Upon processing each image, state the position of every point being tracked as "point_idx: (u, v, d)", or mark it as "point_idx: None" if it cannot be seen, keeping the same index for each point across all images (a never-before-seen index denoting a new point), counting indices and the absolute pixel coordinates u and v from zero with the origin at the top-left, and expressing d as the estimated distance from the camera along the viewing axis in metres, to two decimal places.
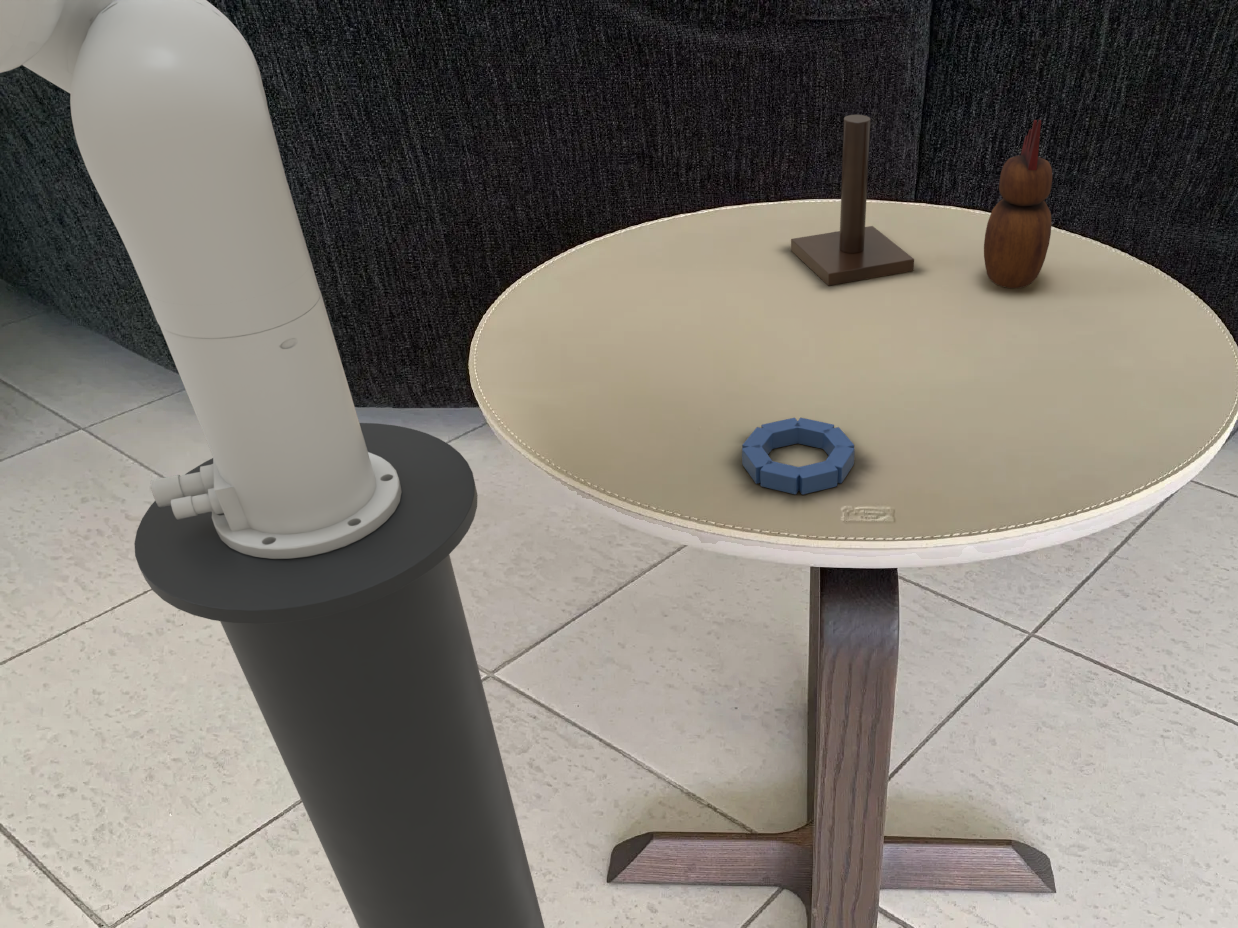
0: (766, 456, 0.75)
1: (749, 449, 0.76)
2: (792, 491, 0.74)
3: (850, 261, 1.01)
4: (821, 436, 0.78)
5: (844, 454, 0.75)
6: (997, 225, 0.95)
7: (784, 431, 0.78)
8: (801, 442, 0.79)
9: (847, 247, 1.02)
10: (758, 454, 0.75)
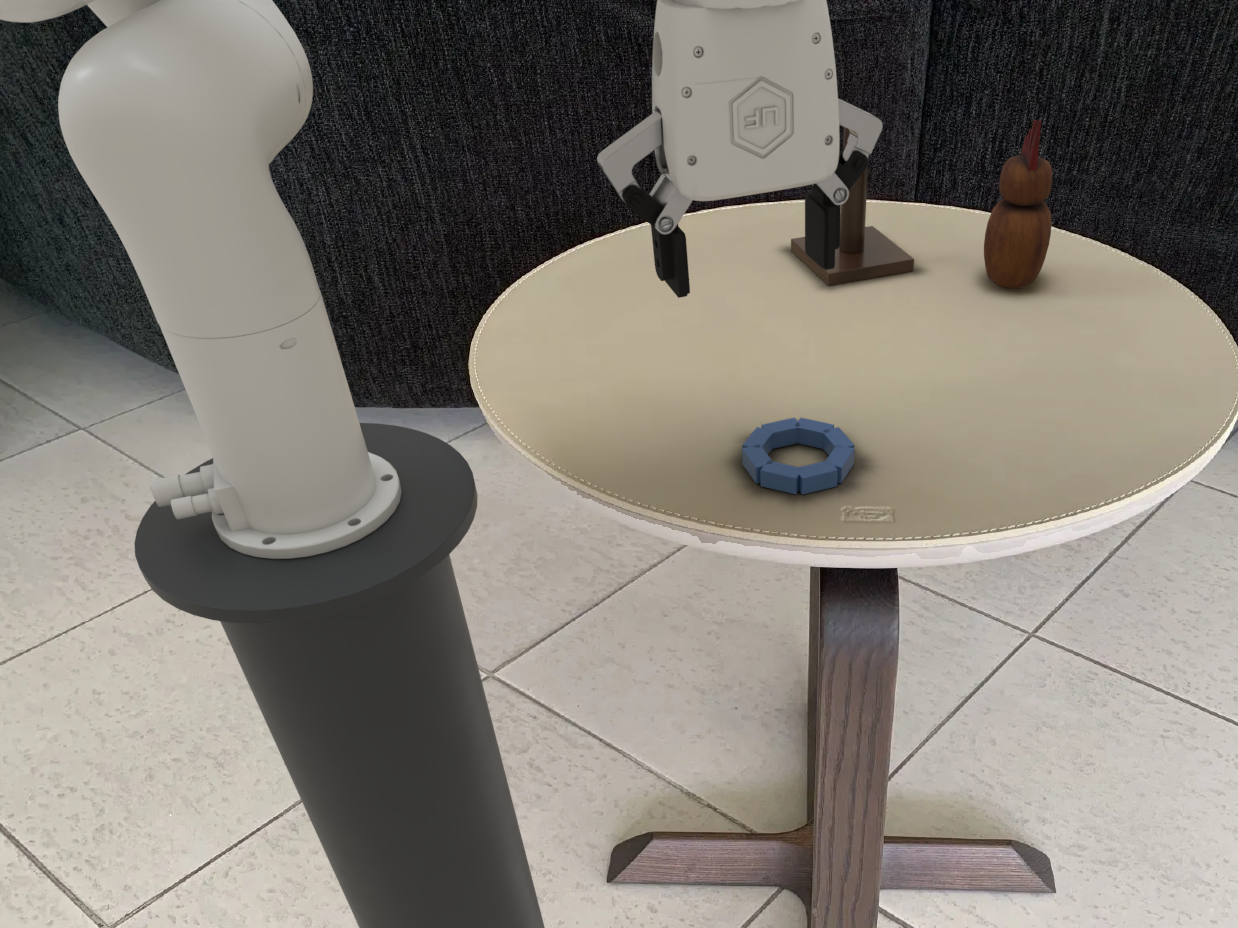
0: (766, 456, 0.75)
1: (749, 449, 0.76)
2: (792, 491, 0.74)
3: (850, 261, 1.01)
4: (821, 436, 0.78)
5: (844, 454, 0.75)
6: (997, 225, 0.96)
7: (784, 431, 0.78)
8: (801, 442, 0.79)
9: (847, 247, 1.02)
10: (758, 454, 0.75)
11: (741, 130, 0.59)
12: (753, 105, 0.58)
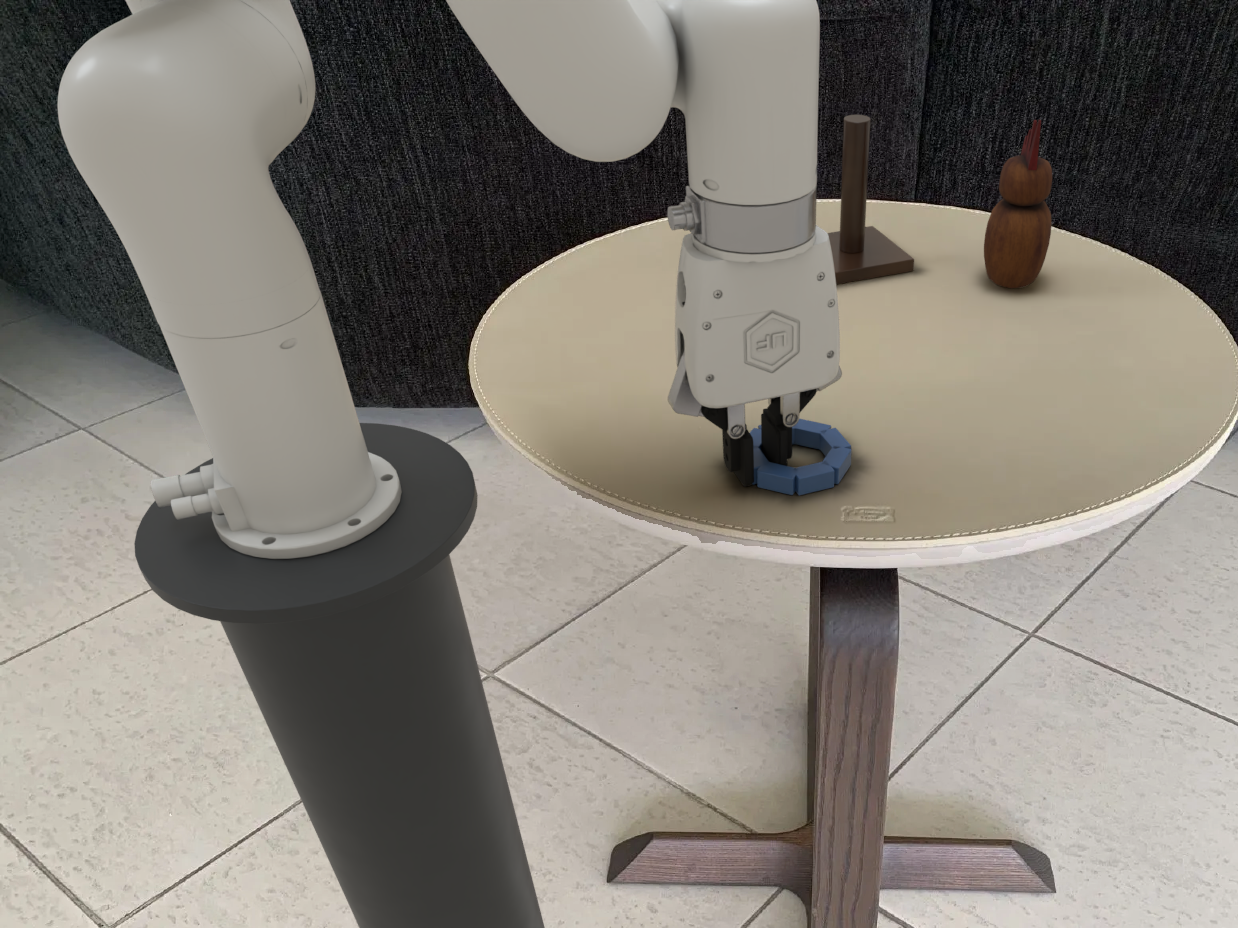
0: (763, 457, 0.75)
1: None
2: (789, 492, 0.74)
3: (850, 261, 1.01)
4: (818, 437, 0.78)
5: (841, 455, 0.75)
6: (997, 226, 0.96)
7: None
8: (798, 443, 0.79)
9: (847, 247, 1.02)
10: (755, 454, 0.75)
11: (753, 352, 0.67)
12: (764, 332, 0.66)
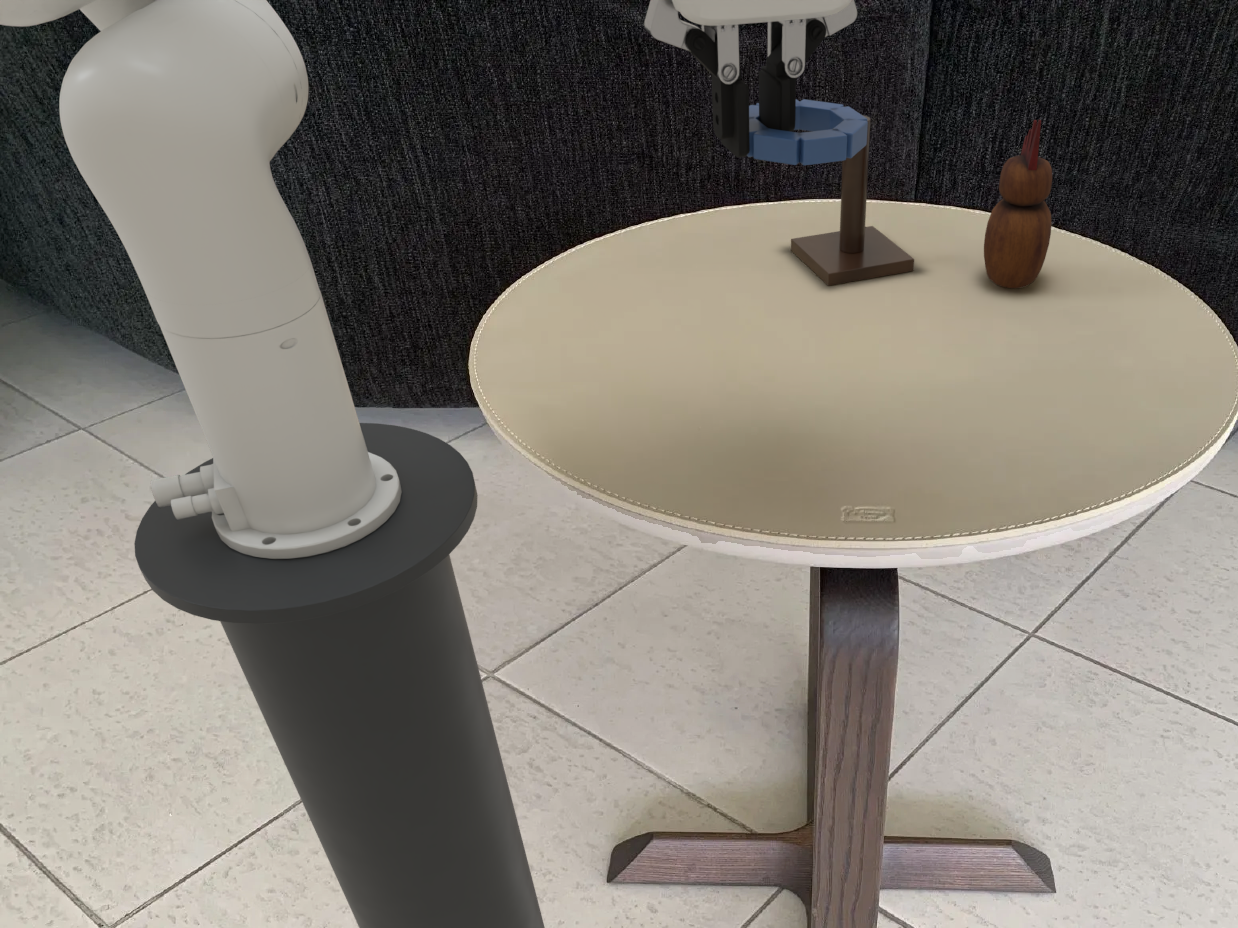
0: (761, 124, 0.62)
1: None
2: (792, 161, 0.61)
3: (850, 261, 1.01)
4: (828, 115, 0.65)
5: (855, 125, 0.62)
6: (997, 226, 0.96)
7: None
8: (804, 127, 0.66)
9: (847, 247, 1.02)
10: (752, 123, 0.62)
11: None
12: None
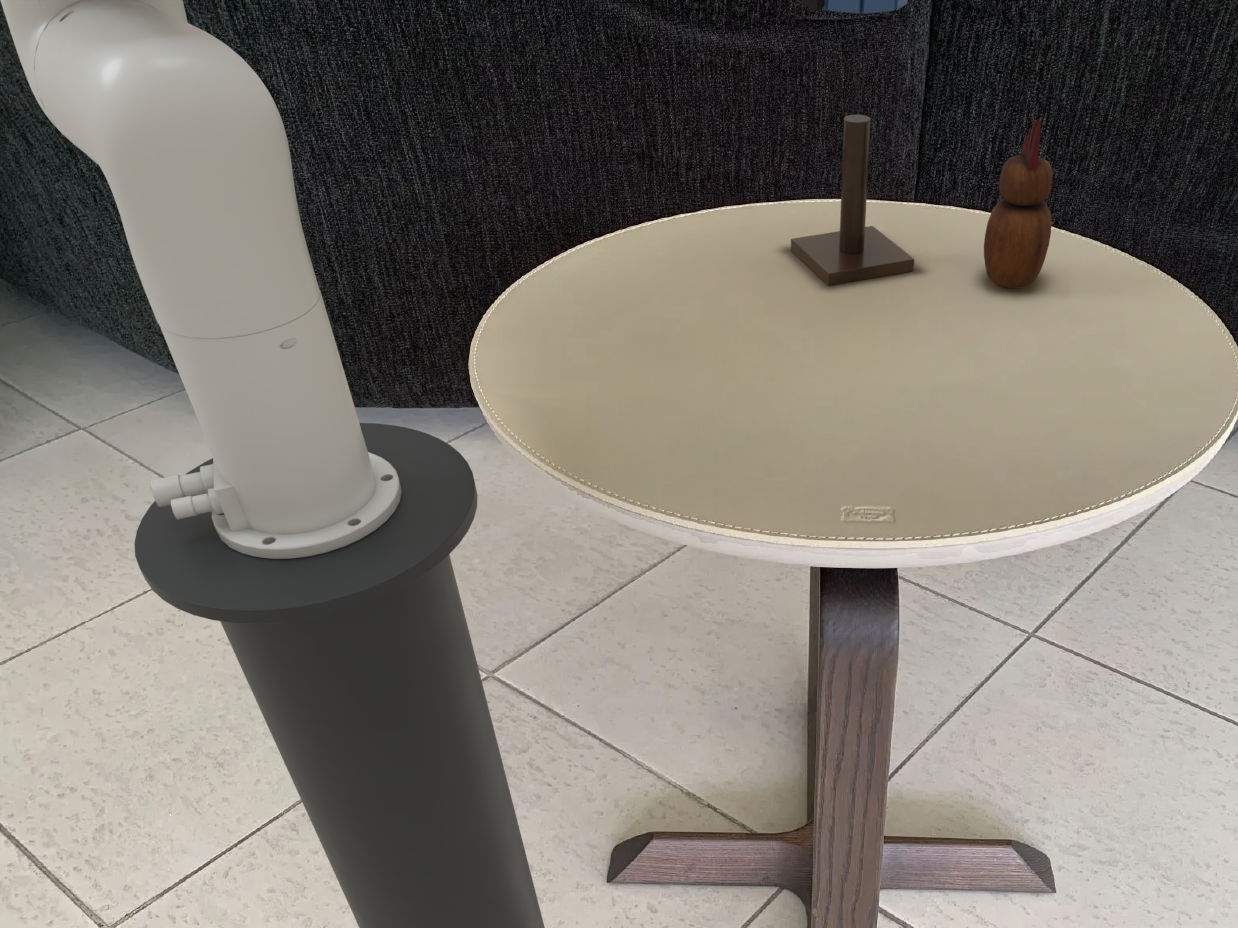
0: None
1: None
2: (856, 10, 0.85)
3: (850, 261, 1.01)
4: None
5: None
6: (997, 226, 0.96)
7: None
8: None
9: (847, 247, 1.02)
10: None
11: None
12: None
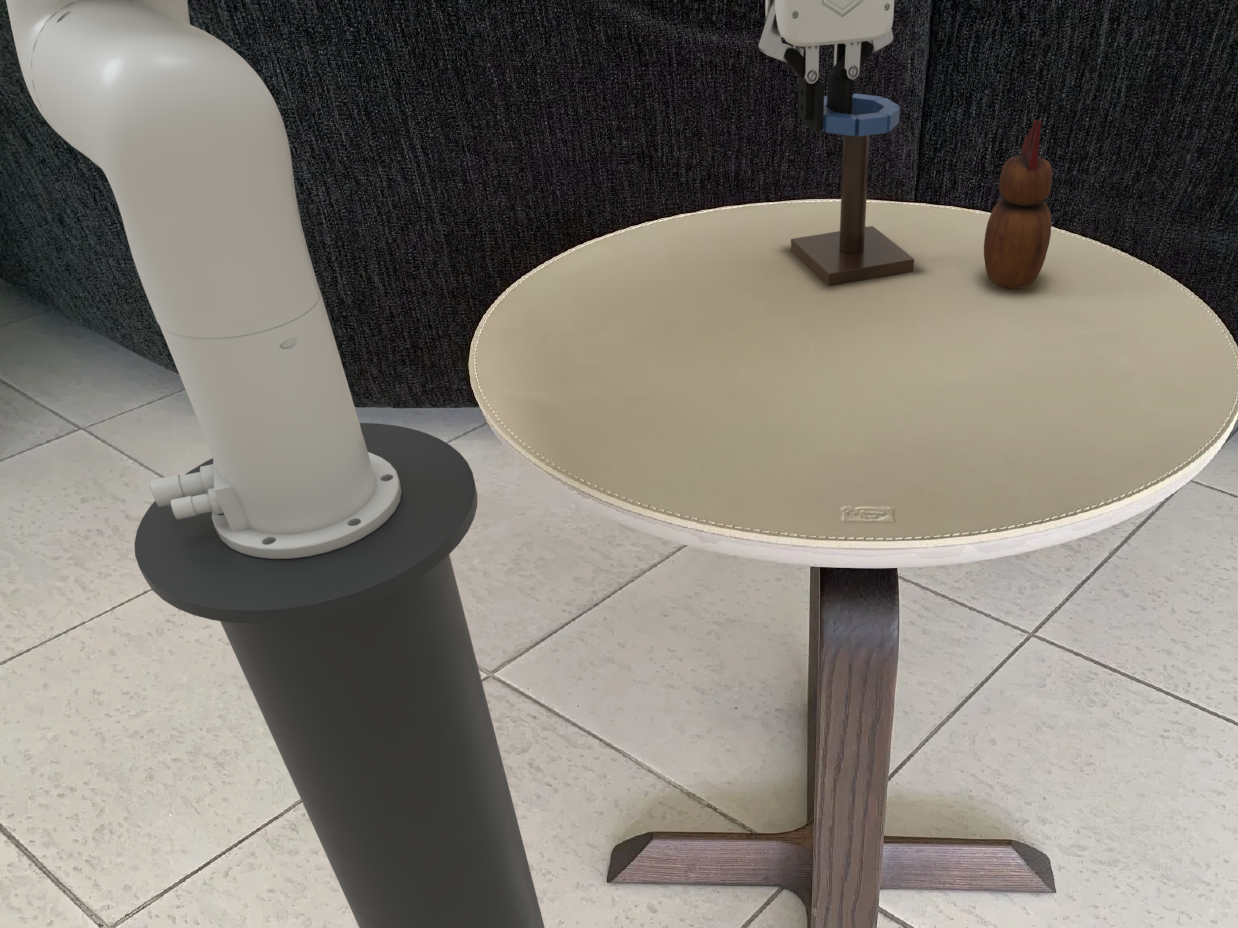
0: (830, 110, 0.94)
1: None
2: (851, 133, 0.93)
3: (850, 261, 1.01)
4: (872, 104, 0.97)
5: (892, 109, 0.94)
6: (997, 225, 0.95)
7: None
8: (855, 112, 0.98)
9: (847, 247, 1.02)
10: None
11: None
12: None
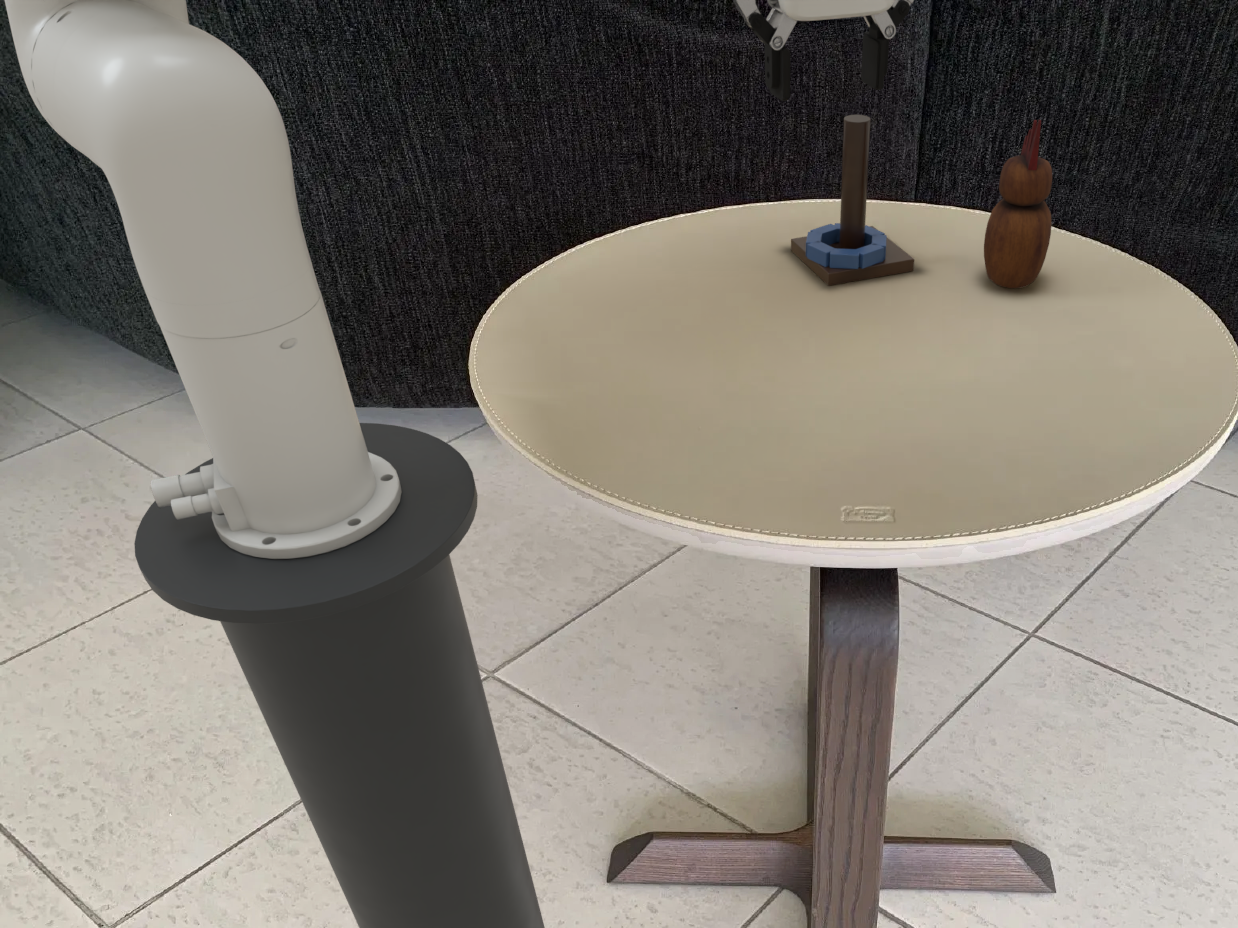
0: (828, 246, 1.00)
1: (813, 244, 1.01)
2: (855, 267, 1.00)
3: None
4: None
5: (882, 239, 1.02)
6: (997, 225, 0.96)
7: (829, 232, 1.03)
8: None
9: (847, 247, 1.02)
10: (822, 245, 1.01)
11: None
12: None
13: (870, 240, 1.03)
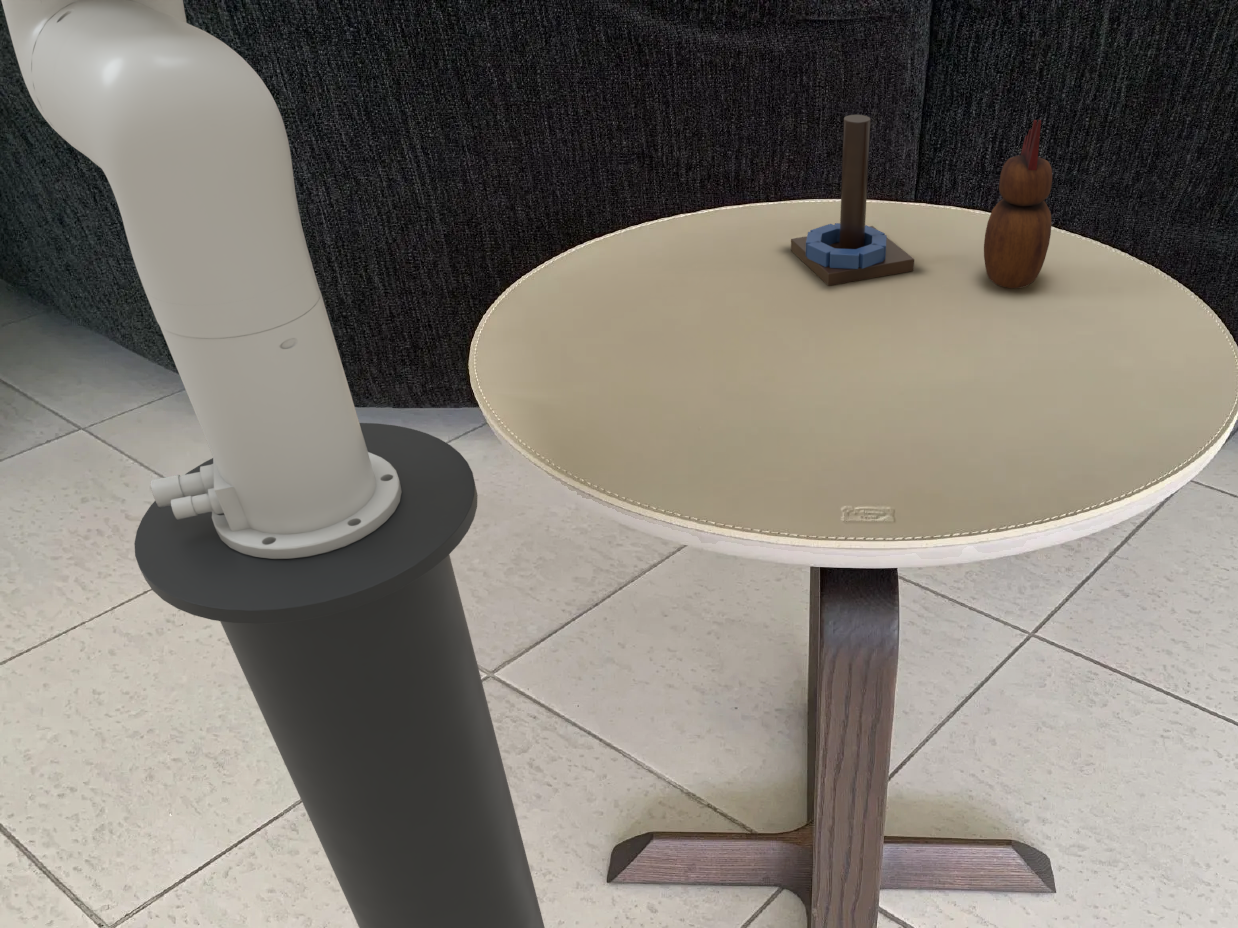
0: (828, 246, 1.00)
1: (813, 244, 1.01)
2: (855, 267, 1.00)
3: None
4: None
5: (882, 239, 1.02)
6: (997, 226, 0.96)
7: (829, 232, 1.03)
8: None
9: (847, 247, 1.02)
10: (822, 245, 1.01)
11: None
12: None
13: (870, 240, 1.03)
